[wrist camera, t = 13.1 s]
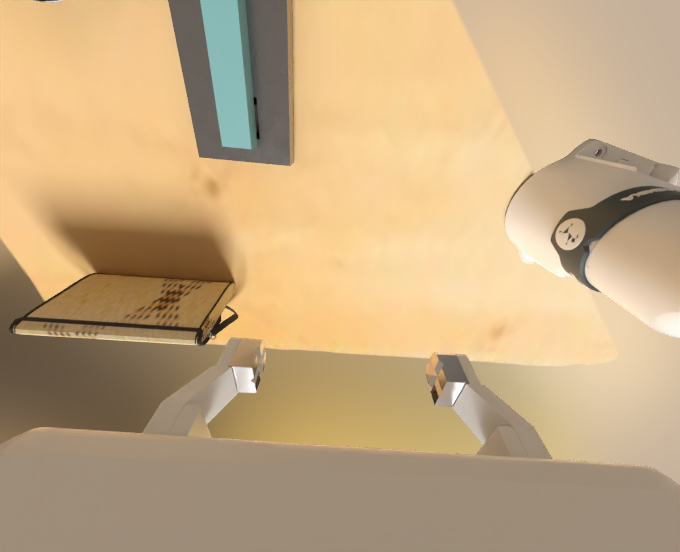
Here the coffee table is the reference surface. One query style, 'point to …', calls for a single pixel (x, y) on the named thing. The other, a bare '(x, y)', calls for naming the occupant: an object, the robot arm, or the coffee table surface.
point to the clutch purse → (133, 310)
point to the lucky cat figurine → (48, 1)
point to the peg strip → (231, 71)
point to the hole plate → (267, 79)
